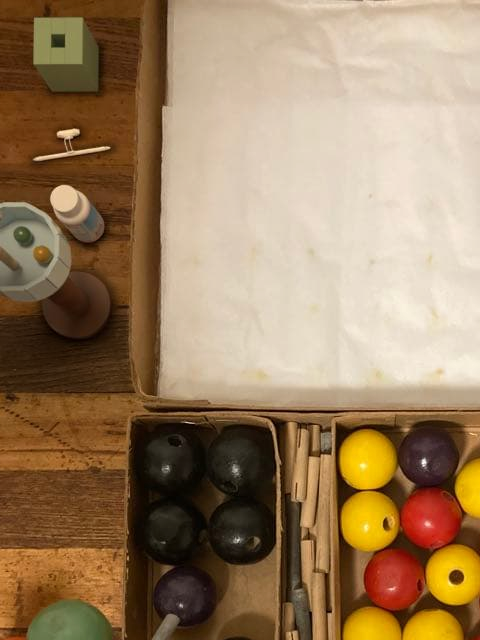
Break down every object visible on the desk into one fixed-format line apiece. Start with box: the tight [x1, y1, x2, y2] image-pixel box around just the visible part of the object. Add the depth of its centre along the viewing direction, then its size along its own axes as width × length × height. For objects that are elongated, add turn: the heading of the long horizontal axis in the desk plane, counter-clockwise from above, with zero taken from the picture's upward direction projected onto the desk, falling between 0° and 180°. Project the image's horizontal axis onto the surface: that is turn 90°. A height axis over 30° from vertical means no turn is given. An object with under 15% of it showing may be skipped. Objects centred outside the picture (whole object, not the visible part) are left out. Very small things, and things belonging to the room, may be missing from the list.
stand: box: [32, 17, 100, 93], centre depth 149 cm, size 8×8×8 cm
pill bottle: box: [49, 184, 105, 243], centre depth 146 cm, size 6×6×11 cm
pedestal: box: [41, 270, 113, 340], centre depth 140 cm, size 12×12×21 cm
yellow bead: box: [33, 245, 52, 264], centre depth 127 cm, size 3×3×3 cm
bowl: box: [0, 201, 72, 303], centre depth 127 cm, size 13×13×5 cm
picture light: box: [32, 128, 111, 162], centre depth 151 cm, size 14×4×2 cm, turn 100°
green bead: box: [13, 226, 32, 244], centre depth 128 cm, size 3×3×3 cm
